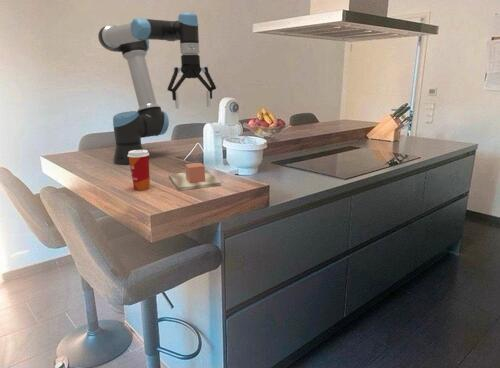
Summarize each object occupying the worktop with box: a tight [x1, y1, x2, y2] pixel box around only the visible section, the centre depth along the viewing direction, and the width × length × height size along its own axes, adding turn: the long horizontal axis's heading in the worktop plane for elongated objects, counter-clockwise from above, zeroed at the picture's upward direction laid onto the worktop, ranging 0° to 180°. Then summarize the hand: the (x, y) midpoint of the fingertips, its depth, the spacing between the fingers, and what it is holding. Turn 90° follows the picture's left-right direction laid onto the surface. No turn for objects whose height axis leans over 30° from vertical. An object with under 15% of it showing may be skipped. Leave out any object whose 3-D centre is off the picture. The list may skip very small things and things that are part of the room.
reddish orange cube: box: [184, 162, 206, 183], centre depth 143 cm, size 6×6×6 cm
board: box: [168, 169, 222, 192], centre depth 146 cm, size 16×20×6 cm
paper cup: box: [128, 149, 151, 191], centre depth 137 cm, size 8×8×14 cm
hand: (193, 107), depth 158 cm, fingers open, 13 cm apart
